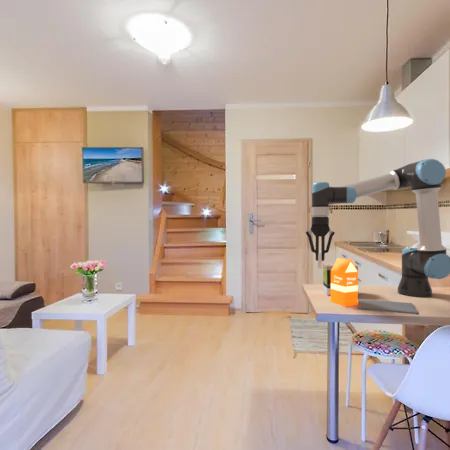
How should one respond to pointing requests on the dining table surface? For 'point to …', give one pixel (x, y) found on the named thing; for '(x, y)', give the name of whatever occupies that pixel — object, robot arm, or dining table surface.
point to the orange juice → (344, 283)
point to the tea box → (328, 277)
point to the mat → (387, 306)
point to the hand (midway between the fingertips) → (320, 267)
